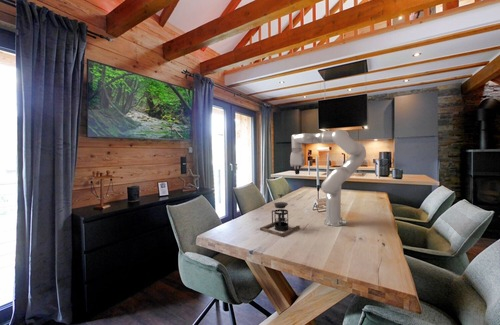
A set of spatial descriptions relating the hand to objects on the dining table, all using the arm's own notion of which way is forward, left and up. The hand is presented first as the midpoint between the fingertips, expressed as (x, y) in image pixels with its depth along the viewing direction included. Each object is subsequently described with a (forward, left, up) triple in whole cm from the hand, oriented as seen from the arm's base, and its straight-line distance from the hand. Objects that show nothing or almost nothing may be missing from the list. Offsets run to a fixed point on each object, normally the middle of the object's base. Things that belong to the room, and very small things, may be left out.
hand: (297, 174), depth 166 cm
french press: (-5, +30, -34) cm, 45 cm away
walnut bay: (-5, +30, -34) cm, 45 cm away
